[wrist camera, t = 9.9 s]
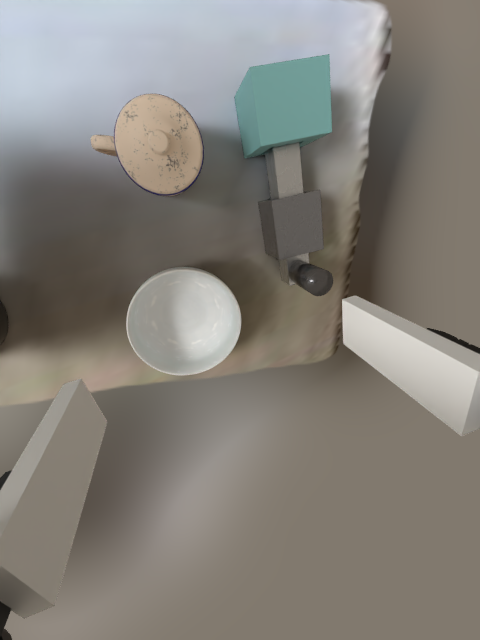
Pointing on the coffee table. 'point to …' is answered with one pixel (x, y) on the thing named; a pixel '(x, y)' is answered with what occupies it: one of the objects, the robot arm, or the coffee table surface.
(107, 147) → the teacup with lid
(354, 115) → the coffee table surface
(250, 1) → the coffee table surface
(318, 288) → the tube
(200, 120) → the coffee table surface
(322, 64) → the socket
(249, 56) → the coffee table surface
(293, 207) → the sleeve
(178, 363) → the cereal bowl
